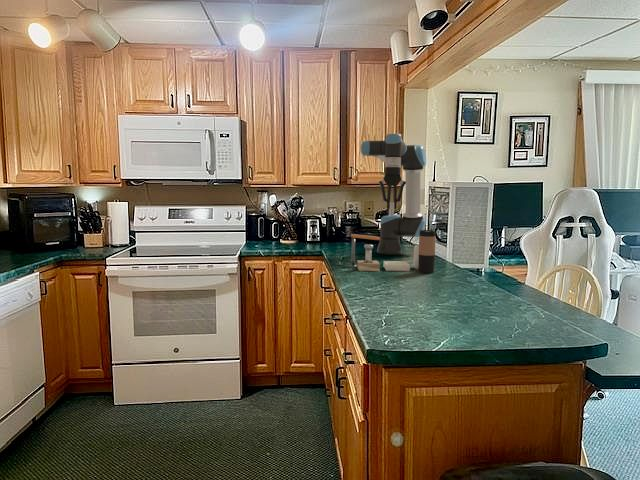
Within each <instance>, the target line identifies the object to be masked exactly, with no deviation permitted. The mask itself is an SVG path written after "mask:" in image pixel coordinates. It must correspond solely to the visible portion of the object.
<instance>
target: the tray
mask: <svg viewBox="0 0 640 480" xmlns="http://www.w3.org/2000/svg"><path fill="white" fill-rule="evenodd" d="M382 264H383V269H385V271H386V272H410V271H411V267H410V266H411V265H410V264H409V263H408V262H407V261H405V260H404V261H401V260H400V261H399V260H398V261H396V260H383V263H382Z"/></svg>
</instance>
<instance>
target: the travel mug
mask: <svg viewBox="0 0 640 480" xmlns="http://www.w3.org/2000/svg"><path fill="white" fill-rule="evenodd" d="M436 232H437V231H435V230H432V229H424V230H420V234H419V237H418V239H419V240H418V245H419V268H418V269H417V270H418V273H420V274H423V275H424V274H428V275H429V274H430V275H431V274H434V273H435V272H434V271H435V258H436V237H437V236H436Z"/></svg>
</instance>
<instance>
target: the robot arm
mask: <svg viewBox="0 0 640 480" xmlns="http://www.w3.org/2000/svg"><path fill="white" fill-rule="evenodd" d="M360 152H361V155H362V156H363V157H364V156H365V157H374V158H377V159H379V160H380V161H381V162H383V163H384V166H385V168H384V177H383V179H382V180H379V181H378V184H379V186H380V189H381V194H382V195H381V196H382V200H383V201H384V202H386V209H387V210H388V215H384V216H382V217H381V218H380V236H379V237H380V240H379V242H378V246H377V249H376V253H377V254H381V255H401V254H403V249H402V244H401V240H400V239H401V238H400V237H405V238H407V237H408V238H419V234H420V230H426V229H425V228H426V221H427V219H426V218H425V217H424V215H423V213H422V212H421V177H422V176H421V172H422V171H423V170H424V167H425V166H427V153H426V150H425V147H424V146H423V145H420V144H419V145H418V144H417V145H416V144H412V145H411V144H408V145H407V144H406V142H404V141H403V138H402V134H401V133H387V134H385V140H364V141H362V142H361V144H360ZM401 167H402V169H401ZM401 170H403V171H404V173H405V175H404V176H405V178H404V179H405V180H403V179H402V176H401ZM385 184H386V186H387V191H385V190H386V189H385ZM399 184H400V187H399V189H397V188H398V185H399ZM404 187H405V211H404V213H403V215H402V216H401V214H395V210H396V209H397V203H399V202H401V200H402V195H403V193H404V191H403V190H404ZM392 188H393V190H392ZM391 191H393V192H391ZM397 191H398V192H397ZM391 193H393V197H392V198H393V200H392V202H391V196H392V195H391ZM397 194H398V195H397Z"/></svg>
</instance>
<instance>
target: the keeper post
mask: <svg viewBox="0 0 640 480" xmlns="http://www.w3.org/2000/svg"><path fill="white" fill-rule="evenodd" d="M350 252H351V258H350V261H351V262H350V264H349V265H348V267H350V268H356V267H357V264H356V238H355V237H351V251H350Z"/></svg>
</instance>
